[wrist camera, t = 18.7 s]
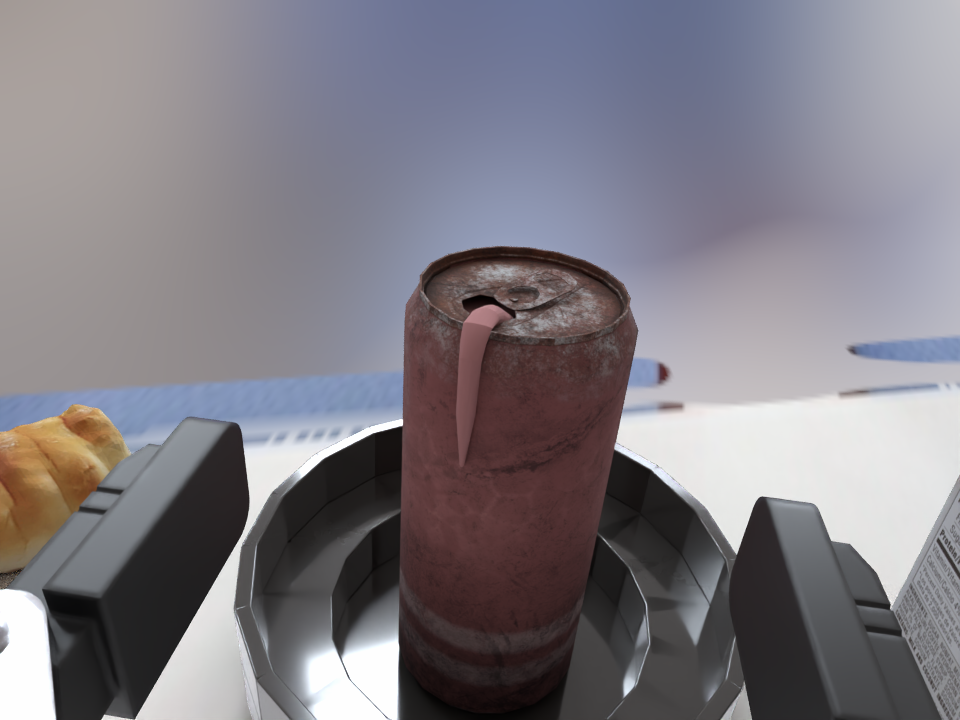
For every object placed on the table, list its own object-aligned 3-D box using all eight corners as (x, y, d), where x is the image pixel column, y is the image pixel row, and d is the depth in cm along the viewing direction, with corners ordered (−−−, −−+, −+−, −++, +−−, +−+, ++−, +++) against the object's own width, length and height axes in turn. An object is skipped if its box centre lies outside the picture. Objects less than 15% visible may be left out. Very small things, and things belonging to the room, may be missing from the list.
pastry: (-89, 645, 25) (-129, 564, 23) (-151, 546, 28) (-190, 469, 27) (168, 509, 31) (153, 436, 29) (91, 441, 35) (73, 373, 33)
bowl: (684, 529, 32) (711, 438, 30) (755, 964, 19) (814, 866, 16) (333, 479, 34) (329, 388, 31) (158, 855, 20) (125, 748, 17)
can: (366, 699, 24) (362, 315, 17) (432, 560, 29) (449, 224, 22) (550, 756, 22) (630, 369, 15) (583, 601, 28) (653, 259, 21)
